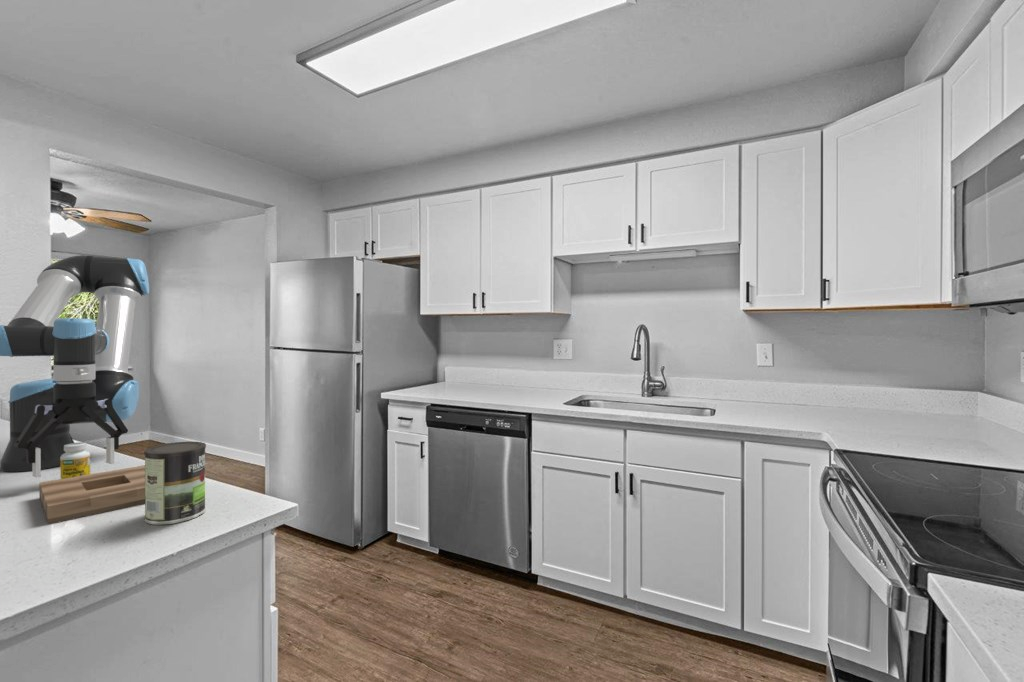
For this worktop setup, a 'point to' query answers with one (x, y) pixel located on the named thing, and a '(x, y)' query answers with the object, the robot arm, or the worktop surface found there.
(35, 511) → the worktop surface
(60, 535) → the worktop surface
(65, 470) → the supplement bottle
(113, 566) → the worktop surface
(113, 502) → the socket block
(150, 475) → the coffee can
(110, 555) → the worktop surface
